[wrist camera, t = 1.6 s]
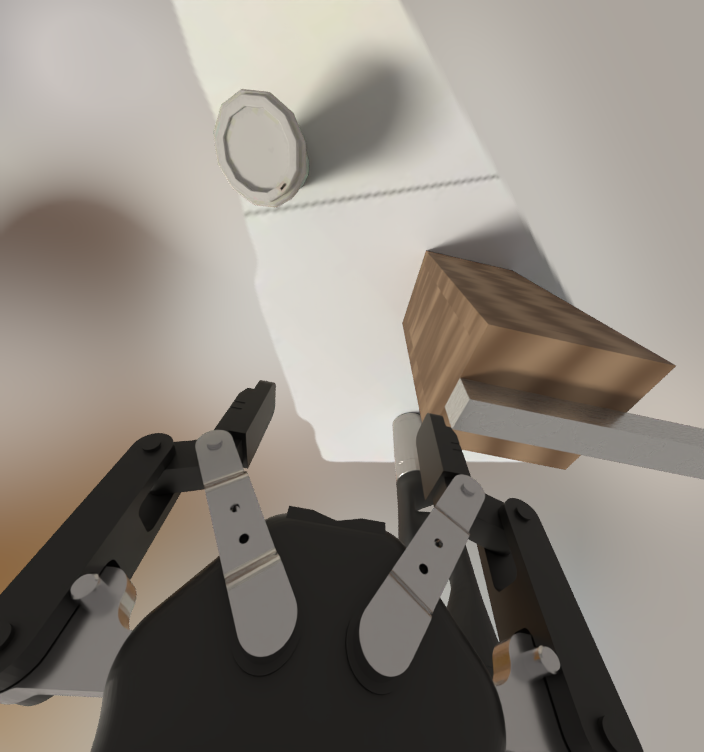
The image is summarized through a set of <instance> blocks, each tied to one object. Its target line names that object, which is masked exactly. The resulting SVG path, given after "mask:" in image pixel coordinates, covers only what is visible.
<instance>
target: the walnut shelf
mask: <svg viewBox="0 0 704 752" xmlns="http://www.w3.org/2000/svg"><path fill="white" fill-rule="evenodd" d="M403 329H404V334H405V339H406V344H407V349H408V354H409V359H410V364H411V369H412V374H413V380H414V385H415V390H416V395H417V400H418V405H419V410H420V415H421V420H422V422H423V420H424V418H425V416H426V414H427V413H431V414H437V415H442V416H443V418H444V421H445V425H446V426H448V427H451V425H450V422H449V418H448V415H447V412H446V409H445V405H446V403H447V401H448V400H449V398H450V396H451V394H452V392H453V390H454V388H455V386H456V384H457V383H458V381H459V379H460V378H463V379H468V380H473V381H478V382H482V383H487V384H492V385H497V386H501V387H506V388H511V389H516V390H521V391H525V392H530V393H535V394H540V395H544V396H549V397H554V398H559V399H564V400H568V401H573V402H578V403H583V404H587V405H592V406H597V407H602V408H606V409H611V410H616V411H621V412H627V411H629V409H631V408H632V407H633V406H634V405H635V404H636V403H637V402H638V401H639V400H640V399H641V398H642V397H643V396H645V394H646V393H648V392H649V391H650V390H651V389H652V388H653V387H654V386H655V385H656V384H657V383H658V382H659V381H661V380H662V378H664V377H665V376H666V375H667V374H668V373H669V372H670V371H671V370H672V369H673V368H675V365H674V364H672V363H670V362H669V361H667V360H665V359H664V358H662V357H660V356H658V355H657V354H655V353H653V352H652V351H650V350H648V349H646V348H644V347H643V346H641V345H639V344H638V343H636V342H634V341H632V340H631V339H629V338H627V337H626V336H624V335H622V334H621V333H619V332H617V331H615V330H613V329H612V328H610V327H608V326H607V325H605V324H603V323H602V322H600V321H598V320H596V319H595V318H593V317H591V316H590V315H588V314H586V313H584V312H583V311H581V310H579V309H578V308H576V307H574V306H572V305H571V304H569V303H567V302H565V301H564V300H562V299H560V298H559V297H557V296H555V295H553V294H552V293H550V292H548V291H547V290H545V289H543V288H541V287H540V286H538V285H536V284H535V283H533V282H531V281H529V280H528V279H526V278H524V277H522V276H521V275H519V274H517V273H516V272H514V271H512V270H508V269H503V268H499V267H495V266H490V265H486V264H482V263H477V262H473V261H469V260H464V259H460V258H456V257H451V256H447V255H443V254H439V253H434V252H430V251H426V253H425V256H424V259H423V262H422V265H421V268H420V271H419V274H418V277H417V280H416V283H415V286H414V289H413V292H412V295H411V298H410V302H409V305H408V308H407V311H406V314H405V317H404V320H403ZM452 430H453V431H454V432H455V433H456V435H457V437H458V440H459V443H460V444H459V445H460V446H461V449H462V450H467V451H472V452H477V453H482V454H487V455H493V456H498V457H503V458H508V459H513V460H518V461H523V462H529V463H533V464H538V465H544V466H549V467H554V468H559V469H564V470H565V469H567V468H568V467H569V466H570V465H571V464H572V463H573V462H574V461H575V460H576V459H577V458H578V457H579V456H580V455H579V454H574V453H569V452H564V451H559V450H554V449H549V448H544V447H539V446H534V445H529V444H524V443H519V442H514V441H509V440H504V439H499V438H494V437H489V436H484V435H479V434H474V433H469V432H464V431H459V430H454V429H452Z"/></svg>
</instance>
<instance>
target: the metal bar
mask: <svg viewBox="0 0 704 752" xmlns="http://www.w3.org/2000/svg"><path fill="white" fill-rule="evenodd" d="M445 409H446V412H447V415H448V418H449V422H450V425H451V428H452V429H454V430H459V431H464V432H469V433H474V434H479V435H484V436H489V437H494V438H499V439H504V440H509V441H514V442H519V443H524V444H529V445H534V446H539V447H544V448H549V449H554V450H559V451H564V452H569V453H574V454H579V455H584V456H589V457H594V458H599V459H604V460H609V461H614V462H619V463H624V464H629V465H634V466H639V467H644V468H649V469H654V470H659V471H664V472H669V473H674V474H679V475H684V476H690V477H694V478H700V479H704V429H702V428H697V427H692V426H688V425H683V424H678V423H673V422H669V421H663V420H659V419H654V418H649V417H645V416H640V415H635V414H630V413H626V412H621V411H616V410H611V409H606V408H602V407H597V406H592V405H587V404H583V403H578V402H573V401H568V400H564V399H559V398H554V397H549V396H544V395H540V394H535V393H530V392H525V391H521V390H516V389H511V388H506V387H501V386H497V385H492V384H487V383H482V382H478V381H473V380H468V379H463V378H460V379H459V381H458V383H457V384H456V386H455V388H454V390H453V392H452V394H451V396H450V398H449V400H448V401H447V403H446V405H445Z"/></svg>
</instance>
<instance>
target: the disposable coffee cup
mask: <svg viewBox="0 0 704 752" xmlns="http://www.w3.org/2000/svg"><path fill="white" fill-rule="evenodd" d="M213 135H214V141H215V148H216V155H217V161H218V165H219V166H220V168H221V170H222V171H223V173H224V175H225V177H226V178H227V180H228V182H229V184H230V185H231V187H232V189H233V190H235V191H236V192H237V193H239V194H240V195H241V196H243V197H244V198H245V199H247V200H248V201H249V202H251V203H252V204H254V205H257V206H267V207H276V208H277V207H279V206H280V205H282V204H284V203H285V202H287V201H289V200H290V199H292V198H293V197H294V196H295V194H296V193H297V192H298V190H299V189H300V188H301V187H302V186H303V185H304V183H305V181H306V179H307V177H308V175H309V159H308V156H307V153H306V142H305V139H304V137H303V134H302V132H301V130H300V127H299V125H298V123H297V120H296V118H295V116H294V113H293V112H292V111H291V110H289V109H288V108H287V107H286V106H285V105H284V104H283V103H282V102H280V101H279V100H278V99H277V98H276V97H275V96H274V95H273V94H271V93H270V92H265V91H256V90H247V89H241V90H240V91H238V92H237V93H236V94H234V95H233V96H232V97H231V98H229V99H228V100H227V101H225V102H224V103H223V104H222V105H221V108H220V111H219V115H218V118H217V121H216V125H215V128H214V132H213Z"/></svg>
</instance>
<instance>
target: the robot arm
mask: <svg viewBox="0 0 704 752" xmlns="http://www.w3.org/2000/svg"><path fill="white" fill-rule="evenodd" d="M275 388H276V385H275V383H273V382H268V381H262V380H260V381H259V382H258V384H257V385H256V387H255V389H251V388H247V389H245V390H244V391H242V392H241V393H239V394H238V396H237V397H236V399H235V400H234V402H233V403H232V405H231V406H230V408H229V409H228V410H227V412H226V413H225V415H224V416H223V418H222V419H221V421H220V422H219V423H218V425H217V426H216V428H215V429H214V430H213V431H209V432H207V433H205V434H203V435H202V436H201V437H199V438H198V439H197V440H192V441H180V442H173V439H172V438H171V437H170V436H169V435H167V434H163V433H155V434H151V435H147V436H145V437H142V438H141V439H139V440H138V441H136V442H135V443H134V444H133V445H132V446H131V447H130V448H129V450H128V451H127V452H126V453H125V454H124V455H123V456H122V458H121V459H120V460H119V461H118V462H117V463H116V464H115V466H114V467H113V468H112V469H111V470H110V471H109V472H108V473H107V475H106V476H105V477H104V478H103V479H102V480H101V481H100V482H99V484H98V485H97V486H96V487H95V488H94V489H93V491H92V492H91V493H90V494H89V495H88V496H87V497H86V499H84V501H83V502H82V503H81V504H80V505H79V506H78V507H77V508H76V510H75V511H74V512H73V513H72V514H71V515H70V516H69V518H68V519H67V520H66V521H65V522H64V523H63V524H62V525H61V527H60V528H59V529H58V530H57V531H56V532H55V533H54V534H53V536H52V537H51V538H50V539H49V540H48V541H47V542H46V544H45V545H44V546H43V547H42V548H41V549H40V550H39V551H38V553H37V554H36V555H35V556H34V557H33V558H32V559H31V561H30V562H29V563H28V564H27V565H26V567H24V568H23V570H22V571H21V572H20V573H19V574H18V575H17V576H16V577H15V579H14V580H13V581H12V582H11V583H10V584H9V586H8V587H7V588H6V589H5V590H4V591H3V592H2V593H1V594H0V703H1V704H18V705H23V706H32V705H36V704H39V703H42V702H44V701H46V700H47V699H49V698H51V697H52V696H54V695H62V696H63V695H64V696H84V697H103V701H102V708H101V714H100V719H99V724H98V728H97V732H96V736H95V739H94V742H93V746H92V749H91V752H643V749H642V747H641V744H640V742H639V739H638V737H637V735H636V733H635V730H634V728H633V726H632V724H631V722H630V720H629V717H628V715H627V713H626V710H625V709H624V706H623V704H622V702H621V699H620V697H619V695H618V693H617V691H616V688H615V686H614V684H613V682H612V679H611V677H610V675H609V673H608V670H607V668H606V666H605V664H604V661H603V659H602V657H601V655H600V653H599V650H598V648H597V646H596V644H595V641H594V639H593V637H592V635H591V633H590V631H589V628H588V626H587V624H586V622H585V619H584V617H583V615H582V613H581V610H580V608H579V606H578V604H577V601H576V599H575V597H574V595H573V592H572V590H571V588H570V586H569V584H568V581H567V579H566V577H565V575H564V573H563V570H562V568H561V566H560V564H559V561H558V559H557V557H556V555H555V552H554V550H553V548H552V546H551V543H550V541H549V539H548V537H547V535H546V532H545V530H544V528H543V526H542V524H541V522H540V519H539V517H538V515H537V514H536V512H535V511H534V510H533V509H532V508H531V507H530V506H529V505H528V504H526V503H525V502H523V501H521V500H519V499H516V498H510V499H508V500H507V501H506V502H505V503H504V502H502V501H499V500H497V499H495V498H493V497H491V496H489V495H487V494H485V493H484V490H483V488H482V487H481V485H480V484H479V483H478V482H477V481H476V480H475V479H473V478H471V476H470V473H469V470H468V467H467V464H466V461H465V458H464V455H463V452H462V449H461V446H460V445H459V444H460V443H459V440H458V437H457V435H456V433H455V432H454V431H453V430H452V428H451V427H448V426H446V425H445V421H444V418H443V416H442V415H437V414H431V413H427V414H426V416H425V418H424V420H423V422H422V420H421V415H419V414H416V413H406V414H402V415H400V416H398V417H397V418H396V419H395V420H394V422H393V442H394V457H395V470H396V471H395V472H396V485H397V499H398V520H399V521H398V523H399V525H398V527H399V529H398V531H399V532H398V535H399V539H398V538H396V537H395V536H394V535H392V534H390V533H389V532H387V531H385V523H384V522H379V521H373V520H367V519H353V520H342V521H336V520H334V519H331V518H329V517H327V516H325V515H322V514H320V513H318V512H316V511H314V510H310V509H304V508H299V507H292V506H289V509H288V512H287V513H285V514H280V515H275V516H273V517H270V518H268V519H266V520H265V519H264V517H263V514H262V511H261V508H260V506H259V503H258V500H257V497H256V494H255V492H254V489H253V486H252V484H251V481H250V478H249V475H248V473H247V472H246V471H244V469H243V468H248V467H249V465H250V463H251V461H252V459H253V457H254V455H255V453H256V450H257V448H258V446H259V444H260V442H261V440H262V437H263V436H264V433H265V431H266V429H267V427H268V425H269V423H270V421H271V419H272V416H273V413H274V409H275V390H276V389H275ZM202 489H205V492H206V497H207V501H208V506H209V511H210V515H211V520H212V524H213V529H214V533H215V537H216V542H217V547H218V551H219V556H218V557H217V558H216V559H215V560H214V561H212V562H211V563H210V564H209V565H208V566H206V567H205V568H204V569H203V570H201V571H200V572H199V573H198V574H197V575H195V576H194V577H193V578H192V579H190V581H188V582H187V583H186V584H184V585H183V586H182V587H181V588H179V589H178V590H177V591H176V592H175V593H173V594H172V595H171V596H170V597H168V599H166V600H165V601H164V602H162V603H161V604H160V605H159V606H157V607H156V608H155V609H154V610H153V611H151V612H150V613H149V614H148V615H147V616H146V617H145V618H144V619H143V620H142V621H141V622H140V623H139V624H138V625H137V626H136V627H135V629H134V630H133V631H132V630H130V628H129V620H130V615H131V612H132V610H133V607H134V604H135V601H136V595H137V593H136V588H135V586H134V585H133V583H132V582H131V581H130V579H131V578H132V576H133V574H134V572H135V571H136V569H137V567H138V566H139V564H140V562H141V560H142V559H143V557H144V555H145V554H146V552H147V550H148V548H149V547H150V545H151V543H152V542H153V540H154V538H155V536H156V535H157V533H158V531H159V530H160V528H161V526H162V524H163V523H164V521H165V519H166V518H167V516H168V514H169V512H170V511H171V509H172V507H173V506H174V504H175V502H176V500H177V499H178V497H179V495H180V493H181V492H187V491H195V490H202ZM433 504H434V508H433V510H432V511H431V512H419V511H418V510H420V509H422V508H425V507H428V506H431V505H433ZM468 539H469V540H471V541H473V542H475V543H477V547H478V551H479V556H480V559H481V564H482V568H483V573H484V577H485V581H486V585H487V590H488V594H489V598H490V602H491V606H492V611H493V615H494V620H495V624H496V628H497V632H498V637H499V641H500V642H498V639H497V637H496V635H495V632H494V629H493V626H492V624H491V621H490V618H489V616H488V613H487V610H486V608H485V605H484V602H483V599H482V596H481V593H480V590H479V587H478V584H477V580H476V577H475V574H474V571H473V567H472V564H471V561H470V557H469V554H468V551H467V548H466V542H467V540H468ZM448 580H450V584H451V592H450V597H449V601H448V605H447V607H446V606H445V604H444V603H443V602H442V600H441V598H440V596H441V594H442V592H443V590H444V588H445V586H446V584H447V582H448Z"/></svg>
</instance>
